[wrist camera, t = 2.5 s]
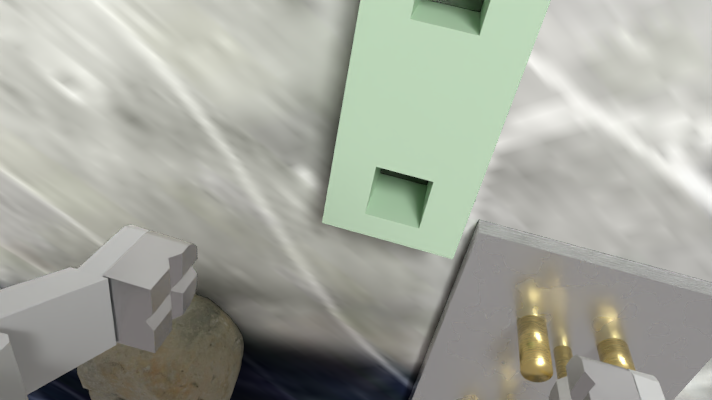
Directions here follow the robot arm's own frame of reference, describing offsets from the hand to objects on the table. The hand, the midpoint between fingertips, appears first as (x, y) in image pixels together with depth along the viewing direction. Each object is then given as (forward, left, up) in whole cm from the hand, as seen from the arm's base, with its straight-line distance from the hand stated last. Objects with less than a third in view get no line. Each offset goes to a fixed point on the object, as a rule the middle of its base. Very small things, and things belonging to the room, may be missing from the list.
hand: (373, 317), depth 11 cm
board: (0, 0, -16) cm, 16 cm away
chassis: (+18, +11, -16) cm, 26 cm away
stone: (+23, -13, -16) cm, 30 cm away
